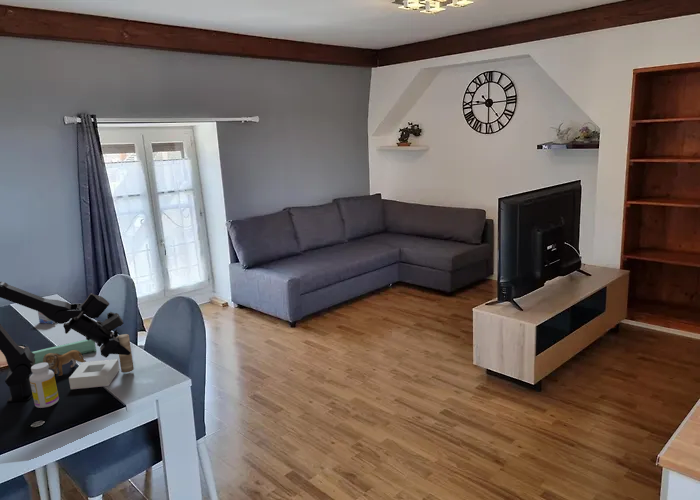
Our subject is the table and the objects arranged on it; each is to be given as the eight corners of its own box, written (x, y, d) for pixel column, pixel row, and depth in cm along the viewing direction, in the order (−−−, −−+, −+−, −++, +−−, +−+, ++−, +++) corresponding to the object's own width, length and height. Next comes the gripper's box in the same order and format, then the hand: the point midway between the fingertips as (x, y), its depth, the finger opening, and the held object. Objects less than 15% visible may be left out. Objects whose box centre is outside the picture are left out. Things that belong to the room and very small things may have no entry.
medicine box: (39, 322, 231) (35, 304, 229) (47, 319, 235) (44, 301, 233) (53, 324, 229) (49, 305, 227) (61, 320, 233) (57, 302, 231)
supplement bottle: (62, 396, 164) (55, 359, 161) (54, 407, 158) (46, 369, 155) (40, 398, 163) (33, 361, 160) (30, 409, 157) (23, 371, 154)
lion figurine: (52, 381, 175) (47, 357, 173) (42, 378, 177) (38, 354, 175) (90, 363, 187) (86, 340, 185) (81, 361, 190) (77, 338, 188)
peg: (131, 372, 176) (127, 338, 173) (119, 373, 176) (114, 339, 173) (135, 366, 180) (130, 333, 177) (123, 367, 180) (118, 334, 177)
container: (17, 353, 184) (93, 336, 196) (19, 353, 190) (93, 337, 201) (20, 369, 184) (96, 351, 196) (22, 369, 189) (96, 351, 201)
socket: (108, 385, 170) (106, 374, 169) (70, 389, 169) (68, 378, 168) (119, 369, 182) (117, 359, 181) (84, 372, 180) (82, 362, 179)
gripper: (106, 317, 163) (147, 342, 170) (104, 301, 179) (141, 324, 186) (83, 345, 161) (125, 369, 169) (82, 326, 177) (121, 349, 185)
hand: (129, 351), depth 177 cm, fingers closed on peg, 4 cm apart
